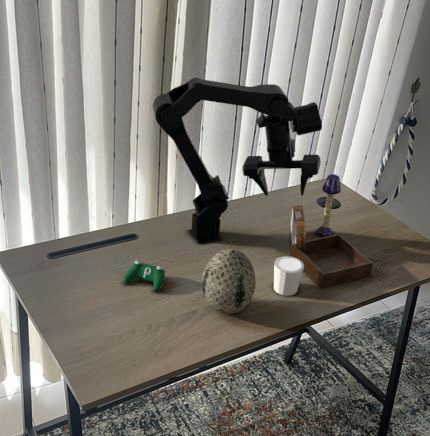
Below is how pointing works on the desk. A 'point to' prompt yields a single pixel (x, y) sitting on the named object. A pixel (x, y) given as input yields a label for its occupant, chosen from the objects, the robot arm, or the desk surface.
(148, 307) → the desk surface
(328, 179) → the toy lamp
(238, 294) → the decorative egg
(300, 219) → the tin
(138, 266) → the gaming controller
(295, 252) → the wooden tray
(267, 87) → the robot arm
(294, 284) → the white short cylinder
